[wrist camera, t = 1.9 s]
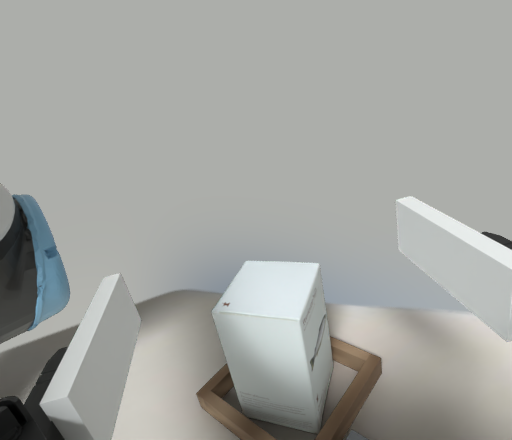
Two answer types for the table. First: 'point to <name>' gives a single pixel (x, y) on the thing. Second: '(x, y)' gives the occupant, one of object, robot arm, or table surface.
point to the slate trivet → (355, 436)
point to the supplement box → (277, 342)
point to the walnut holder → (336, 424)
